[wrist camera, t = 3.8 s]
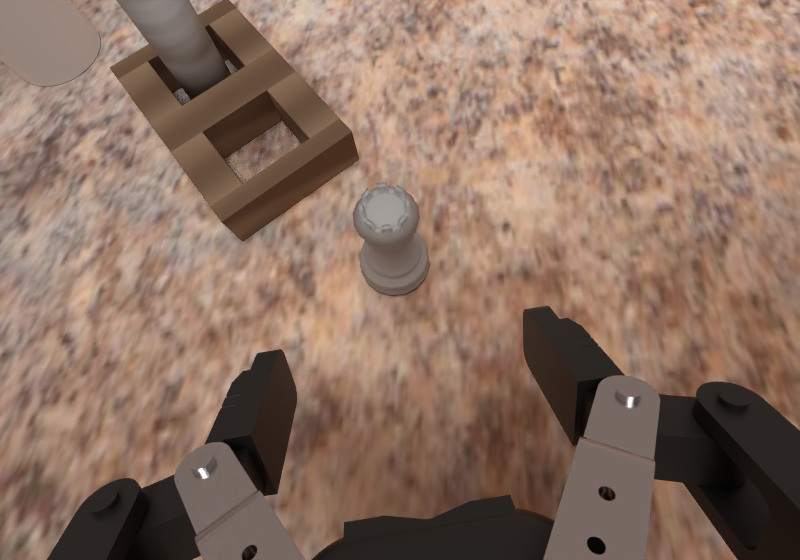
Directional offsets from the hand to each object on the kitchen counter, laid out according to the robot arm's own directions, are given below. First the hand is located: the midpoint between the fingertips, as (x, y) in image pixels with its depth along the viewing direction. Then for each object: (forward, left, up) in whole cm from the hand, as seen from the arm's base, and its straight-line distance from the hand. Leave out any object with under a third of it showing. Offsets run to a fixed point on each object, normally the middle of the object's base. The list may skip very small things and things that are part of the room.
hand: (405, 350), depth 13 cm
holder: (-2, -22, -11) cm, 25 cm away
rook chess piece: (-4, -6, -11) cm, 14 cm away
